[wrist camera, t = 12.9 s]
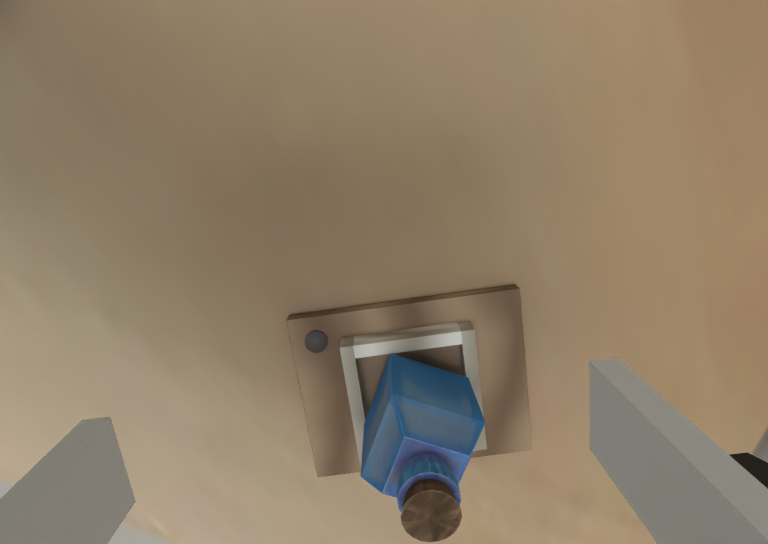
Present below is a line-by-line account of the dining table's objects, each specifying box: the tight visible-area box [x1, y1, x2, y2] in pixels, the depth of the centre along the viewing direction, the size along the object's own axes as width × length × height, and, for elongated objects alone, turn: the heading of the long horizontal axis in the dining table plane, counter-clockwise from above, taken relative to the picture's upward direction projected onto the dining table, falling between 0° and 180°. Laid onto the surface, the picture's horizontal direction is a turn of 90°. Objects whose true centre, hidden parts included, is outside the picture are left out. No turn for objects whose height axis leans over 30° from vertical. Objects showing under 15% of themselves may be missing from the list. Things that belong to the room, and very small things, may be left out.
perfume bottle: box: [361, 353, 486, 542], centre depth 31 cm, size 6×6×12 cm
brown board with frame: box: [286, 285, 532, 477], centre depth 38 cm, size 18×14×3 cm
